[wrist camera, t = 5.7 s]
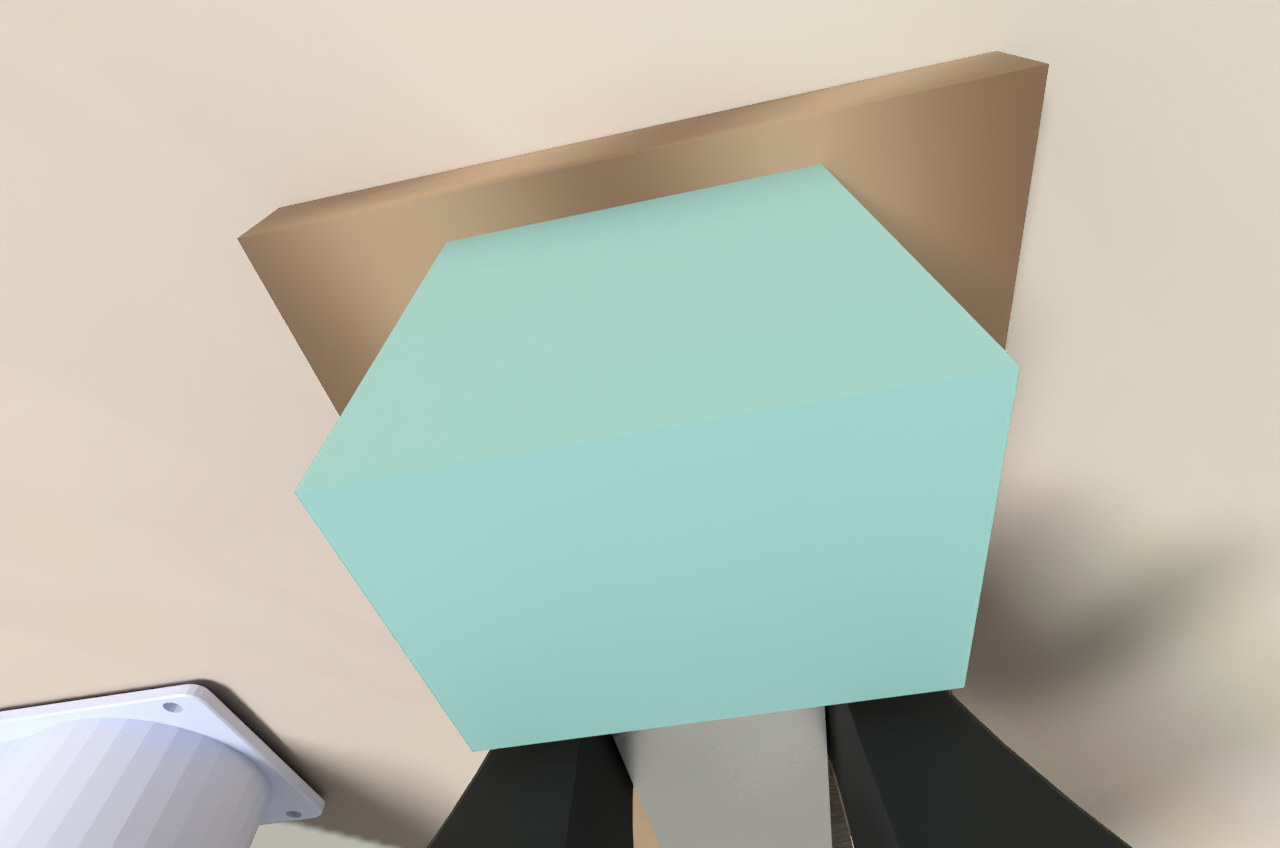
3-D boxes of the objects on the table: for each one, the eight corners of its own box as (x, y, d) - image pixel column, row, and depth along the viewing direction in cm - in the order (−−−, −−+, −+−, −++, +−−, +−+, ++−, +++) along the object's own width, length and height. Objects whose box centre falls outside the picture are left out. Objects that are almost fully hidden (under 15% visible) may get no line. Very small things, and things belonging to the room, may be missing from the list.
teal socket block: (527, 453, 13) (472, 751, 8) (446, 242, 10) (293, 491, 5) (828, 401, 12) (964, 686, 7) (821, 163, 10) (1020, 366, 5)
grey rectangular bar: (686, 791, 17) (697, 935, 14) (544, 358, 9) (515, 507, 7) (803, 777, 16) (835, 921, 14) (758, 319, 9) (812, 458, 6)
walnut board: (598, 819, 25) (598, 863, 24) (278, 208, 11) (237, 238, 10) (915, 781, 24) (931, 825, 23) (996, 51, 10) (1049, 64, 9)
